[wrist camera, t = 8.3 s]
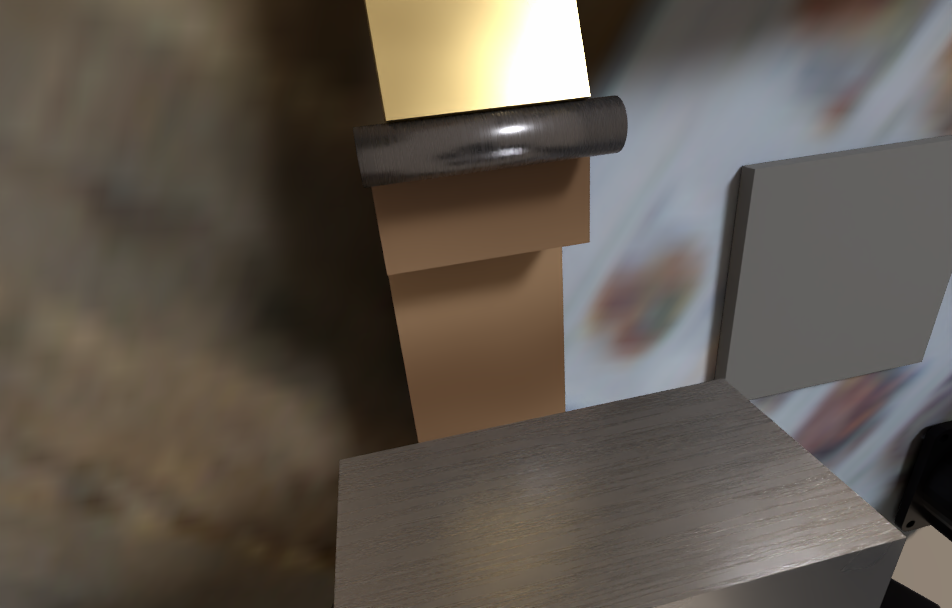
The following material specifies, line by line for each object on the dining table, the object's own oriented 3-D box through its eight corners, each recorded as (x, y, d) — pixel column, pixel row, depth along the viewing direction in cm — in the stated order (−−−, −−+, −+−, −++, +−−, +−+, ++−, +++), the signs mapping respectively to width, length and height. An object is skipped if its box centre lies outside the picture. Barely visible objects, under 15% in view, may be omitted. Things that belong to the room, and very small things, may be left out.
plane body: (529, 447, 20) (588, 577, 15) (424, 470, 19) (449, 614, 14) (508, 110, 14) (589, 138, 9) (363, 128, 14) (367, 167, 9)
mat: (907, 354, 22) (921, 361, 21) (712, 397, 21) (721, 405, 20) (979, 130, 18) (998, 132, 17) (742, 165, 17) (755, 169, 16)
